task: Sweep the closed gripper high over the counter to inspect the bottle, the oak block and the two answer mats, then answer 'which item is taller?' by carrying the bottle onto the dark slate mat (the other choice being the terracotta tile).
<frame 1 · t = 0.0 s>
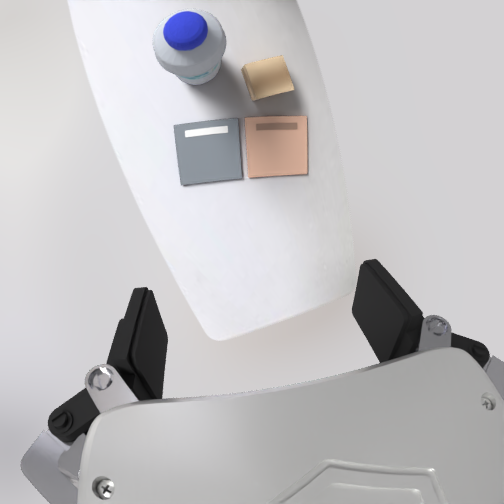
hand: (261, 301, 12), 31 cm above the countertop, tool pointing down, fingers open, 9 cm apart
slate mat: (208, 151, 38), on the countertop
oak block: (263, 80, 34), on the countertop
terracotta tile: (276, 145, 39), on the countertop
bottle: (197, 66, 31), on the countertop
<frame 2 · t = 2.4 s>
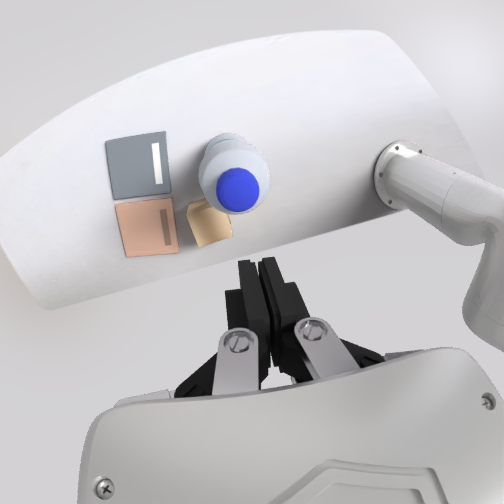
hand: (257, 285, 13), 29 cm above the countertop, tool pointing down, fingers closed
slate mat: (138, 165, 36), on the countertop
oak block: (210, 213, 42), on the countertop
terracotta tile: (147, 227, 41), on the countertop
bottle: (227, 153, 38), on the countertop
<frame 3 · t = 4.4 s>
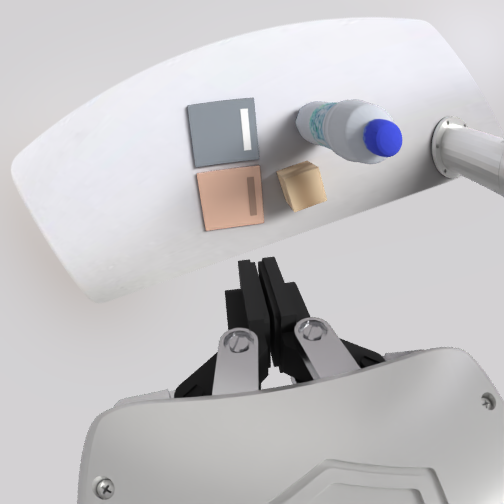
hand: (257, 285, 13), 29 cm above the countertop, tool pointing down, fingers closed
slate mat: (223, 131, 36), on the countertop
oak block: (296, 180, 41), on the countertop
terracotta tile: (231, 197, 41), on the countertop
bottle: (312, 121, 37), on the countertop
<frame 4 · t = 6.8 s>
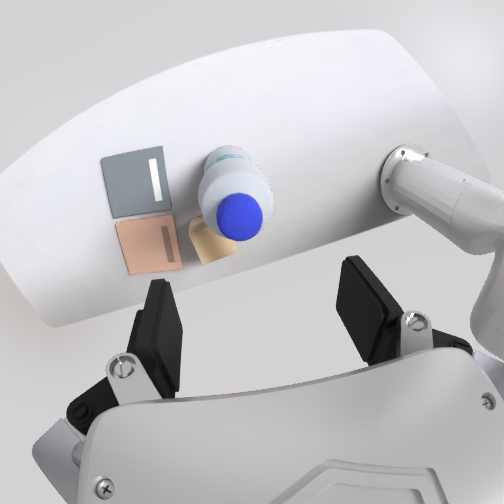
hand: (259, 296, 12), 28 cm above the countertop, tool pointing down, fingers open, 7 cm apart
slate mat: (136, 182, 35), on the countertop
oak block: (212, 228, 41), on the countertop
terracotta tile: (149, 245, 40), on the countertop
bottle: (227, 165, 37), on the countertop
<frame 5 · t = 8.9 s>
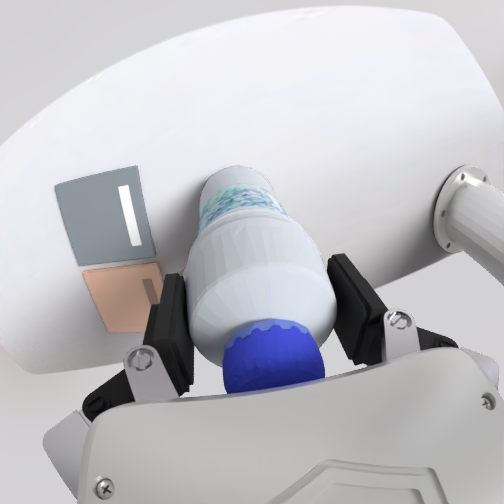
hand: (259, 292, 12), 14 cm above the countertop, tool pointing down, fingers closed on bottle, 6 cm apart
slate mat: (104, 218, 24), on the countertop
terracotta tile: (130, 300, 29), on the countertop
bottle: (235, 194, 25), on the countertop, touching gripper
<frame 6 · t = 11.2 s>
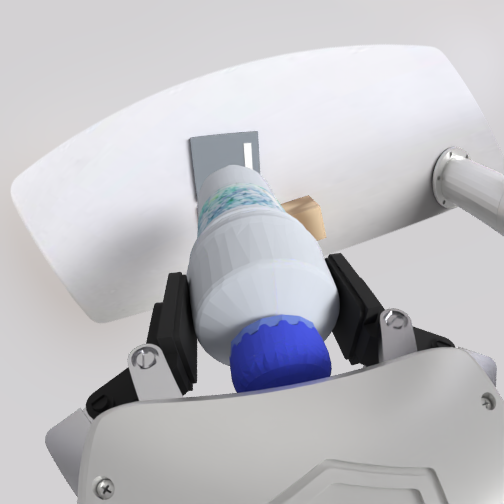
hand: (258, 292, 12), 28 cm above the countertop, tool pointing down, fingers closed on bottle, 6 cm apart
slate mat: (226, 165, 37), on the countertop
oak block: (296, 214, 42), on the countertop
bottle: (232, 194, 25), point 14 cm above the countertop, touching gripper
when the fingers open (16 cm above the countertop, at t = 13.8 s): bottle stays where it is, resting on slate mat.
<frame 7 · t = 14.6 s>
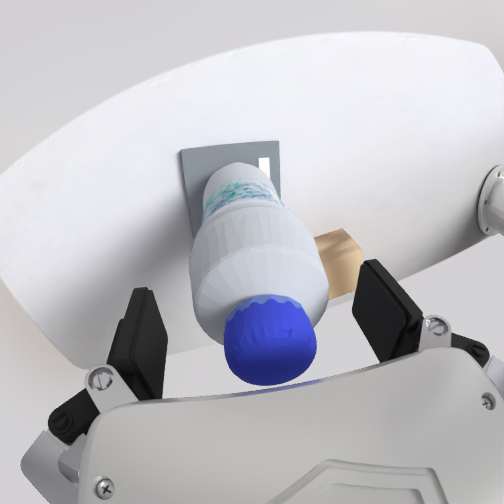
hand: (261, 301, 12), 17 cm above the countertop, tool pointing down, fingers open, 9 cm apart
slate mat: (233, 189, 26), on the countertop
oak block: (325, 252, 32), on the countertop
bottle: (237, 190, 26), resting on slate mat
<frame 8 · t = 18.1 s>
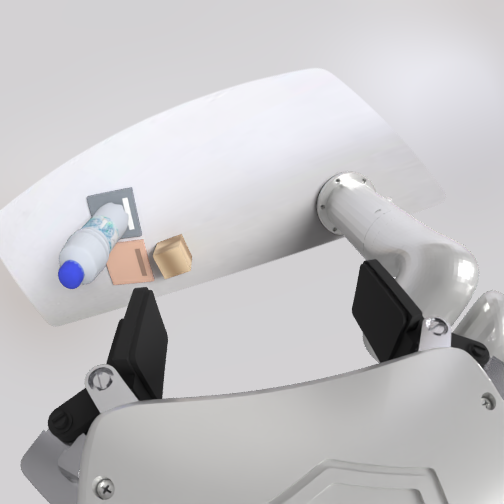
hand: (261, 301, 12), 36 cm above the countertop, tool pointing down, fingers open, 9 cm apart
slate mat: (114, 215, 45), on the countertop
oak block: (174, 249, 50), on the countertop
terracotta tile: (127, 262, 50), on the countertop
bottle: (115, 215, 45), resting on slate mat
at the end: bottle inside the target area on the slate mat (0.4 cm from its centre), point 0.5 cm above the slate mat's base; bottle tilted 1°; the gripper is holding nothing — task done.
